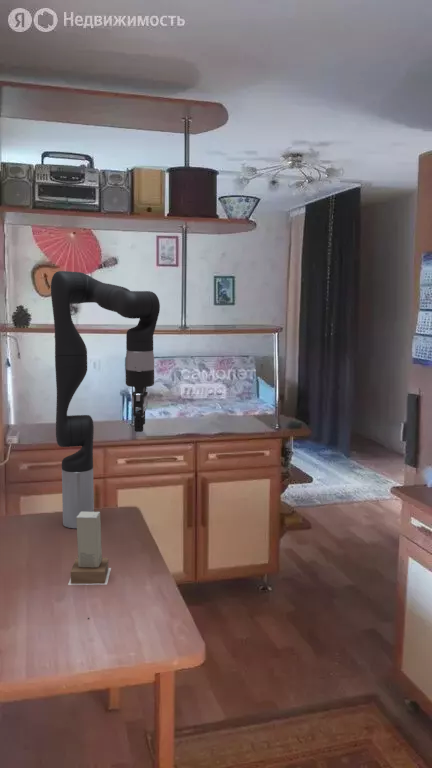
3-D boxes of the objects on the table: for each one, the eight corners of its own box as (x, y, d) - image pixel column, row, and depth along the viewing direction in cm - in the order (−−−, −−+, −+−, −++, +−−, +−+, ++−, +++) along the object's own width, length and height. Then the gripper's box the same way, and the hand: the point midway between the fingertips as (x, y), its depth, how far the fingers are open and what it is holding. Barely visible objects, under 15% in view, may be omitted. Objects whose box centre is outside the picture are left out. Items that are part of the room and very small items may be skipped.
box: (102, 561, 164) (101, 511, 162) (98, 568, 159) (97, 517, 157) (81, 560, 164) (80, 510, 162) (76, 567, 160) (75, 516, 158)
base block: (76, 569, 166) (76, 557, 165) (108, 569, 166) (108, 557, 166) (70, 583, 158) (70, 571, 158) (104, 583, 158) (104, 571, 158)
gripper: (127, 364, 181) (128, 422, 183) (123, 371, 167) (123, 433, 169) (155, 364, 181) (155, 422, 184) (152, 371, 167) (152, 434, 170)
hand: (140, 427), depth 176 cm, fingers open, 8 cm apart
